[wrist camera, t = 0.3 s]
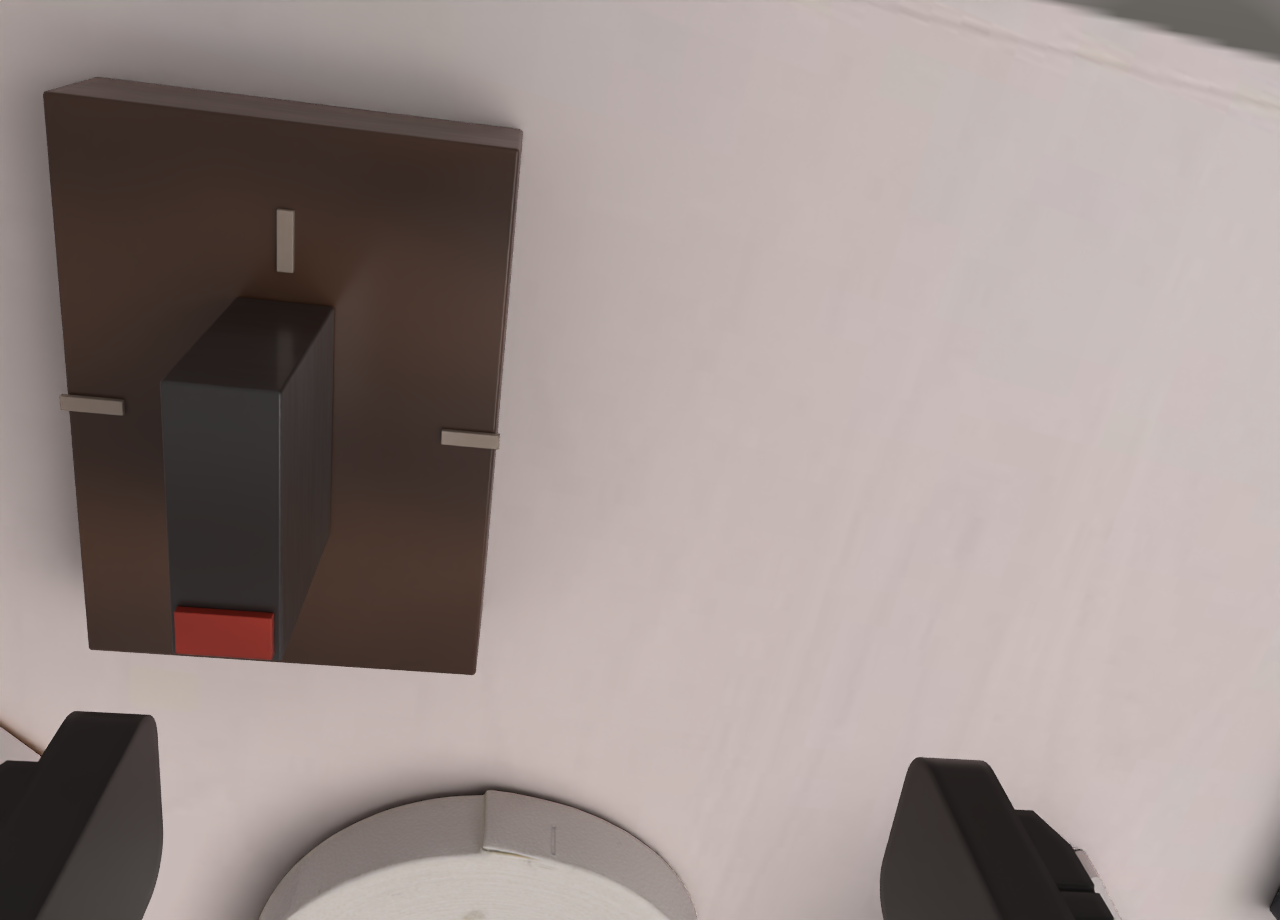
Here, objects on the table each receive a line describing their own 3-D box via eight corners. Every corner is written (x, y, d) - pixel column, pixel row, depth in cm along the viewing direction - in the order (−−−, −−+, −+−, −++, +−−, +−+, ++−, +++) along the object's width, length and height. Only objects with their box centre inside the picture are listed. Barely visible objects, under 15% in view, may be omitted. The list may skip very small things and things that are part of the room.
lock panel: (89, 75, 26) (32, 91, 23) (527, 129, 27) (524, 151, 24) (124, 590, 32) (81, 654, 29) (484, 616, 33) (478, 680, 30)
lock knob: (236, 295, 25) (154, 385, 20) (334, 306, 26) (279, 397, 20) (239, 528, 28) (167, 661, 23) (330, 535, 28) (279, 669, 23)
